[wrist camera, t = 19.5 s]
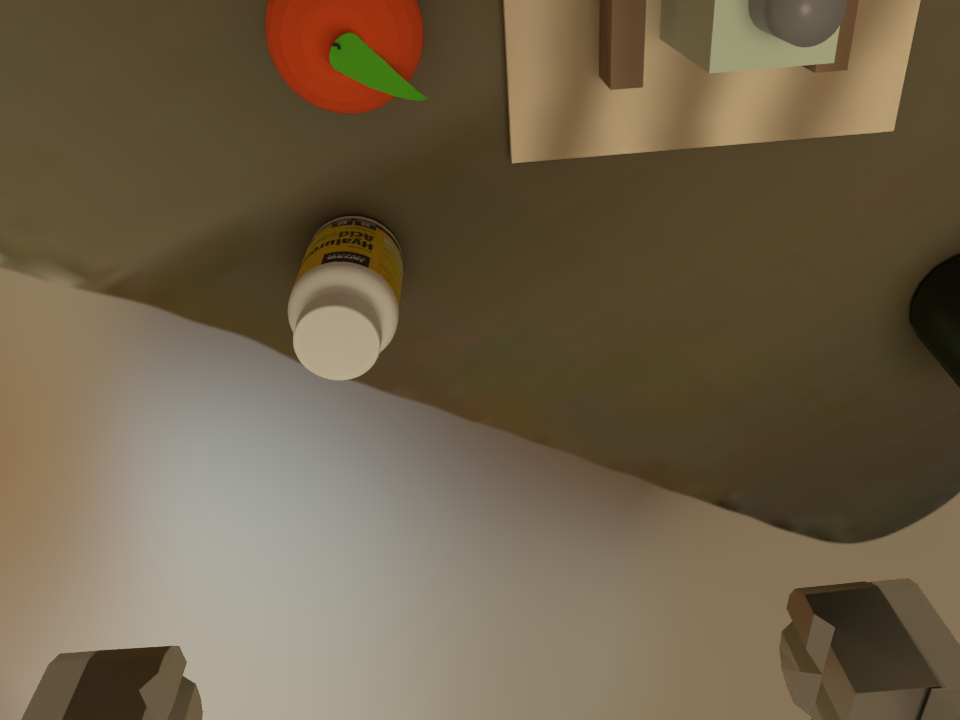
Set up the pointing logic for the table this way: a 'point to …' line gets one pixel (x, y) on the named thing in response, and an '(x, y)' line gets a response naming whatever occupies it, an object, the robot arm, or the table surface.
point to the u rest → (686, 82)
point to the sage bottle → (752, 32)
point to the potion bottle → (940, 316)
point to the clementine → (346, 50)
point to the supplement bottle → (346, 297)
